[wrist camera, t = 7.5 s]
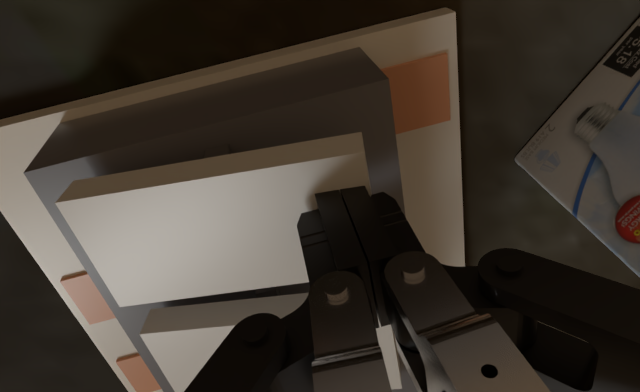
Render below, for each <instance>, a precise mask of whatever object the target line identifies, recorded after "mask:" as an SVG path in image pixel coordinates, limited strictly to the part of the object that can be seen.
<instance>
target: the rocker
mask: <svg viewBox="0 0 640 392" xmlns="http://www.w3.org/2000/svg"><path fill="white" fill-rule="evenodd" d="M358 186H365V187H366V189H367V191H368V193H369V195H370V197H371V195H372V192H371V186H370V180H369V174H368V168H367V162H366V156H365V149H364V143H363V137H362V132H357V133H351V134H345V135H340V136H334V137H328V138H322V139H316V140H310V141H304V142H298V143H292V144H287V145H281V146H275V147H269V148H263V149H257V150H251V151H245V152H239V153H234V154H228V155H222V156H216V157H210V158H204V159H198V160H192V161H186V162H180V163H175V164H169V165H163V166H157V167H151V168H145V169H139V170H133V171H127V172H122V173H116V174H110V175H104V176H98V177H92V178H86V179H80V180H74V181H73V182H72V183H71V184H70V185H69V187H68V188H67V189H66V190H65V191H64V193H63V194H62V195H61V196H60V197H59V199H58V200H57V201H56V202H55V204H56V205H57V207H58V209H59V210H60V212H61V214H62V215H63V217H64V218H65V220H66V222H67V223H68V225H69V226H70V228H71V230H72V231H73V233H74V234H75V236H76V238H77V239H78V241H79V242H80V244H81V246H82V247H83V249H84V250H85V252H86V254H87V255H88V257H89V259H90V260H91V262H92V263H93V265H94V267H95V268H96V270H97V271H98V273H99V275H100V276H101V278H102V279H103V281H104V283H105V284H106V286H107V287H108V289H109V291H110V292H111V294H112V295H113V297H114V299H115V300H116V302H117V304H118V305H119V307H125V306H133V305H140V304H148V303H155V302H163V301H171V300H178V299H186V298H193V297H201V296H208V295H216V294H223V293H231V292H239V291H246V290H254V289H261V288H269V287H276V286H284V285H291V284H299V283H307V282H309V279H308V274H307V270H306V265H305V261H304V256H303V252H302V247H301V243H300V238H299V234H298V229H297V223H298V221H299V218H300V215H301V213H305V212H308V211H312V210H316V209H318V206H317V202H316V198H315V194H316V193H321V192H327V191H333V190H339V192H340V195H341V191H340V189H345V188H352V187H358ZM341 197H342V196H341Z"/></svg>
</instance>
